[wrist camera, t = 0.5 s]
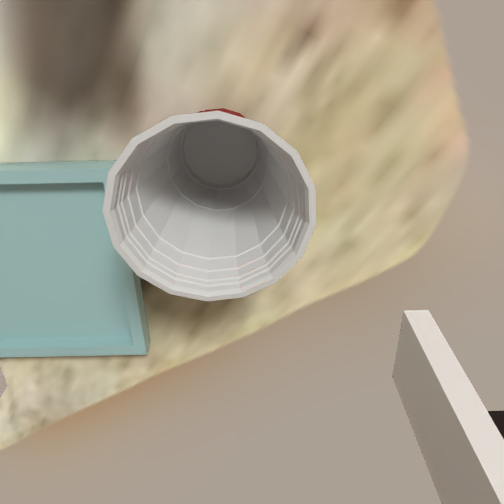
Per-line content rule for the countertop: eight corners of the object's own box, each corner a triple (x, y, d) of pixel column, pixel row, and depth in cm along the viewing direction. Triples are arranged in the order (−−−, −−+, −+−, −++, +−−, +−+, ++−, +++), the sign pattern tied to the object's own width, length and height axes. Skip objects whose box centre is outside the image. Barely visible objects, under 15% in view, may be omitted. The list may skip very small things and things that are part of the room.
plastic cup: (216, 243, 37) (203, 340, 27) (116, 141, 33) (55, 208, 23) (326, 161, 34) (361, 234, 23) (231, 36, 30) (221, 56, 19)
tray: (-36, 344, 42) (-47, 358, 40) (-110, 165, 34) (-128, 173, 32) (150, 341, 42) (146, 354, 40) (121, 160, 34) (114, 168, 32)
